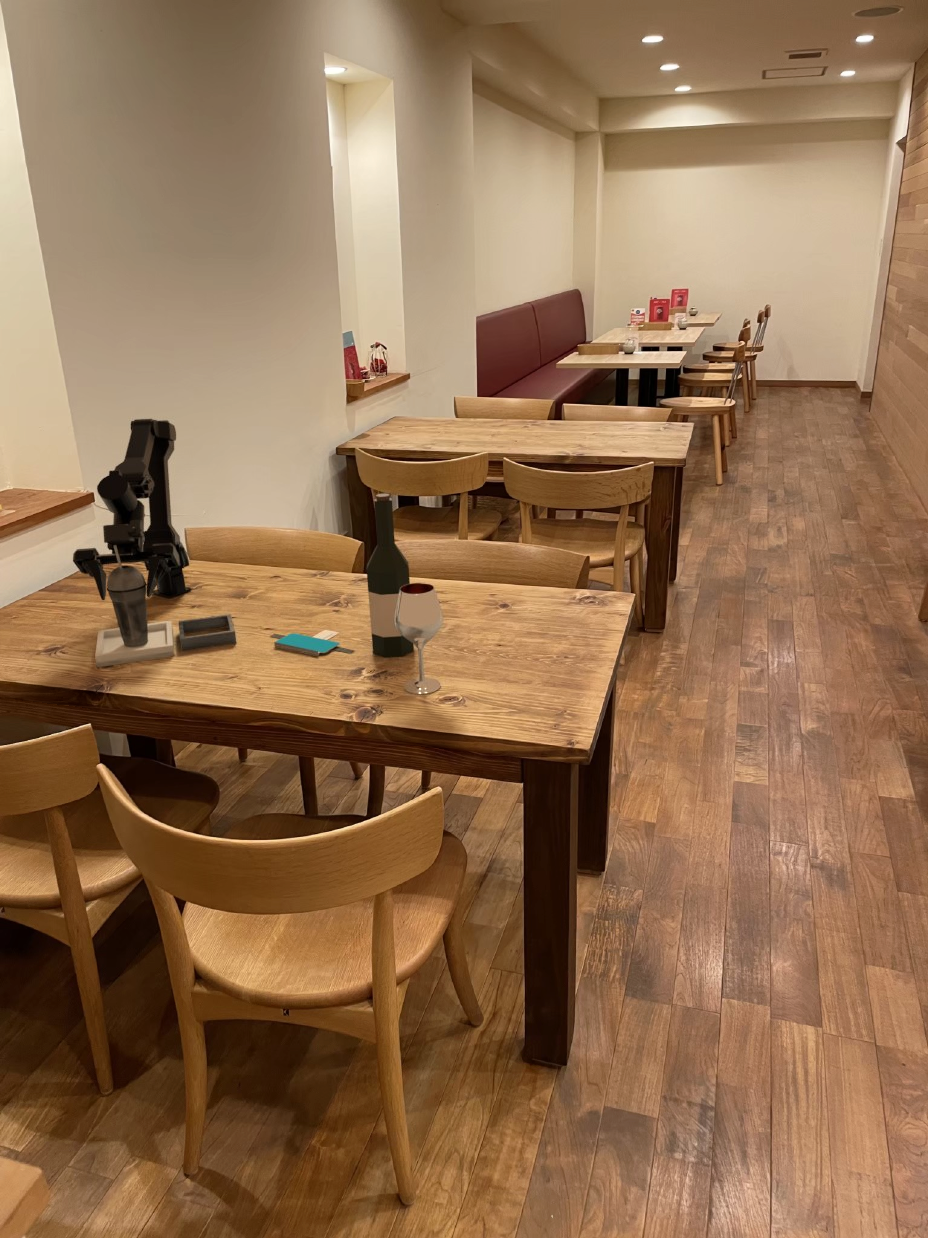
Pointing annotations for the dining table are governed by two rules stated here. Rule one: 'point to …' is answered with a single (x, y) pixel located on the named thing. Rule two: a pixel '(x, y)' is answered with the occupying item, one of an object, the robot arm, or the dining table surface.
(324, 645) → the teal flat block
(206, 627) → the grey-brown square frame
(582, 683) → the dining table surface
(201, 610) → the dining table surface
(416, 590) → the wineglass
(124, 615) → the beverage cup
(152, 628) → the cream white tray
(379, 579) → the wine bottle
